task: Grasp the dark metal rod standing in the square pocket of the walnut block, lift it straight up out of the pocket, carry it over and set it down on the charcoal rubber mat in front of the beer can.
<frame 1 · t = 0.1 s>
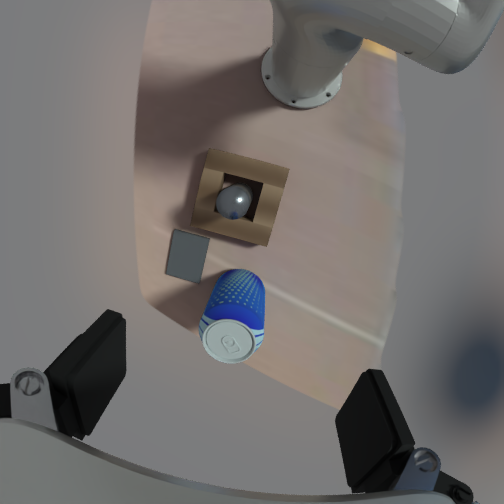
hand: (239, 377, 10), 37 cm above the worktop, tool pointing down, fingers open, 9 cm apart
beer can: (240, 288, 49), on the worktop
rod: (236, 198, 39), in the pocket block
mat: (187, 256, 48), on the worktop
pocket block: (240, 195, 44), on the worktop
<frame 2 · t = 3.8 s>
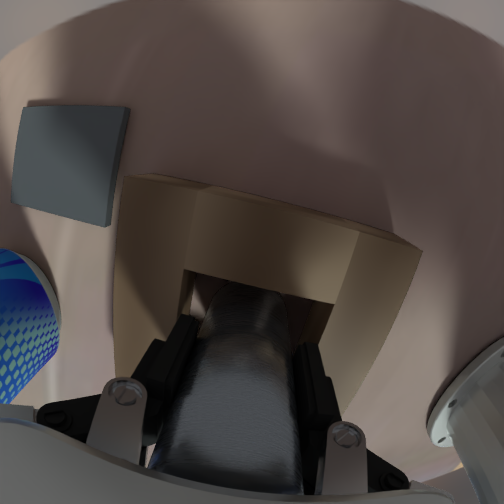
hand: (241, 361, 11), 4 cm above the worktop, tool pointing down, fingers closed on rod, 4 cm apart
beer can: (29, 298, 16), on the worktop
rod: (238, 380, 10), in the pocket block, touching gripper
mat: (61, 159, 13), on the worktop
pocket block: (247, 316, 15), on the worktop
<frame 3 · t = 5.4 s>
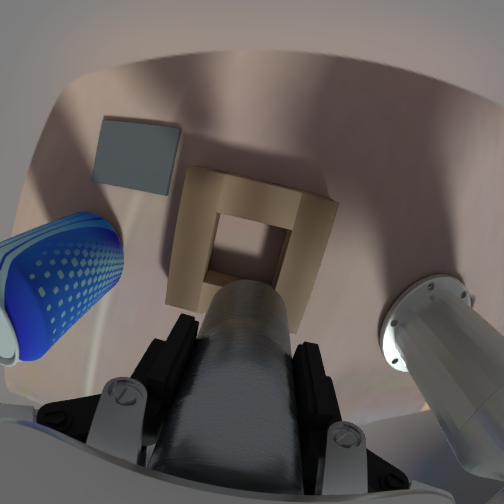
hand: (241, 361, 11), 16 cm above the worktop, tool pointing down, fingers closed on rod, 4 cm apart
beer can: (96, 248, 27), on the worktop
rod: (239, 379, 10), point 17 cm above the worktop, touching gripper
mat: (134, 155, 24), on the worktop
pocket block: (247, 246, 26), on the worktop
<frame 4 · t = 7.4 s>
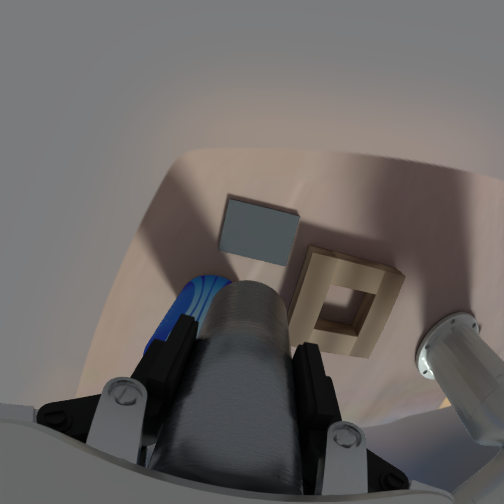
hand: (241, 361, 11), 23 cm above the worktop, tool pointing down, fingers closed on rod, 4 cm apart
beer can: (214, 301, 36), on the worktop
rod: (238, 381, 10), point 24 cm above the worktop, touching gripper
mat: (258, 232, 33), on the worktop
pocket block: (339, 301, 35), on the worktop
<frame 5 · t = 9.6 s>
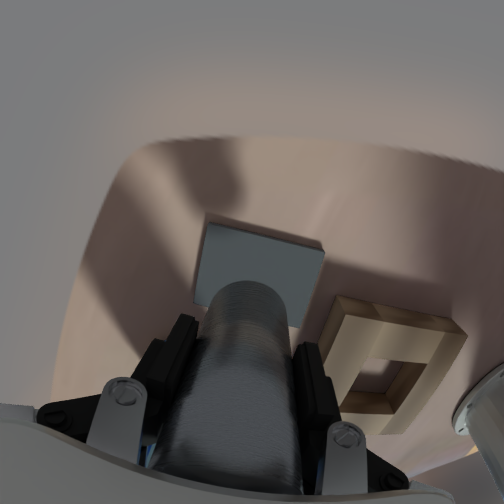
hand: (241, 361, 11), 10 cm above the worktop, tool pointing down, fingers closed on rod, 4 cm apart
rod: (238, 381, 10), point 11 cm above the worktop, touching gripper
mat: (256, 276, 20), on the worktop
pocket block: (373, 367, 22), on the worktop
when the fingers open (5 cm above the worktop, at t = 11.3 s): rod stays where it is, resting on mat.
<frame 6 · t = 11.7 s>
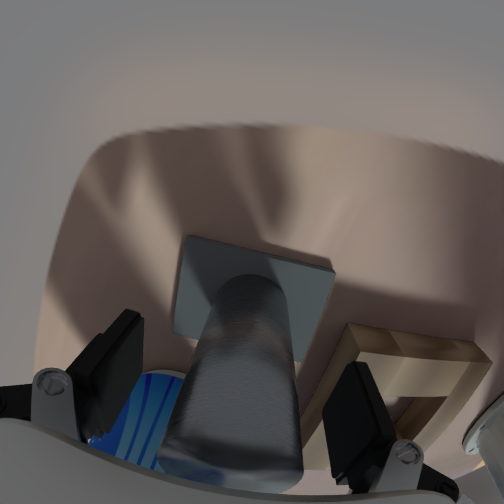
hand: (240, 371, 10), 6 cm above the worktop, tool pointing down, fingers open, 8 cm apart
beer can: (177, 401, 19), on the worktop
rod: (243, 366, 11), on the mat, point 6 cm above the worktop
mat: (249, 302, 16), on the worktop
pocket block: (385, 399, 18), on the worktop
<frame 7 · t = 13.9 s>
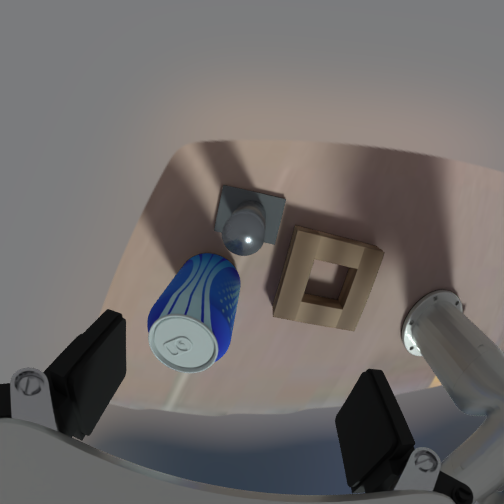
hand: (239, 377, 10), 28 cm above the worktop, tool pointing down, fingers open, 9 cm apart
beer can: (211, 278, 40), on the worktop
rod: (247, 224, 31), on the mat, point 6 cm above the worktop
mat: (249, 214, 37), on the worktop
pocket block: (325, 276, 39), on the worktop
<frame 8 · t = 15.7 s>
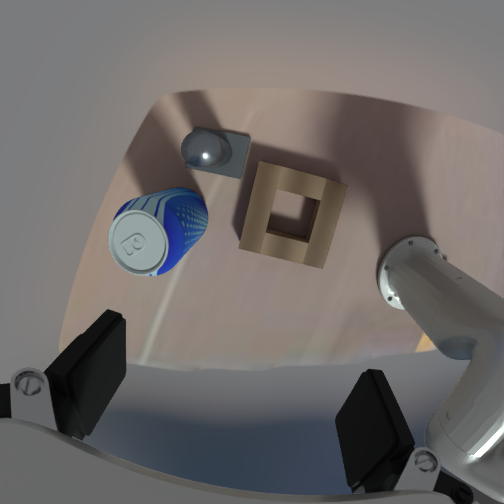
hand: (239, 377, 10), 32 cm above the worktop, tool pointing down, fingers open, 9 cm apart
beer can: (182, 215, 41), on the worktop
rod: (209, 150, 33), on the mat, point 6 cm above the worktop
mat: (217, 152, 38), on the worktop
pocket block: (291, 213, 40), on the worktop
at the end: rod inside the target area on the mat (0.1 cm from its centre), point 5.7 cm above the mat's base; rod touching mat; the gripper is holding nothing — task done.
